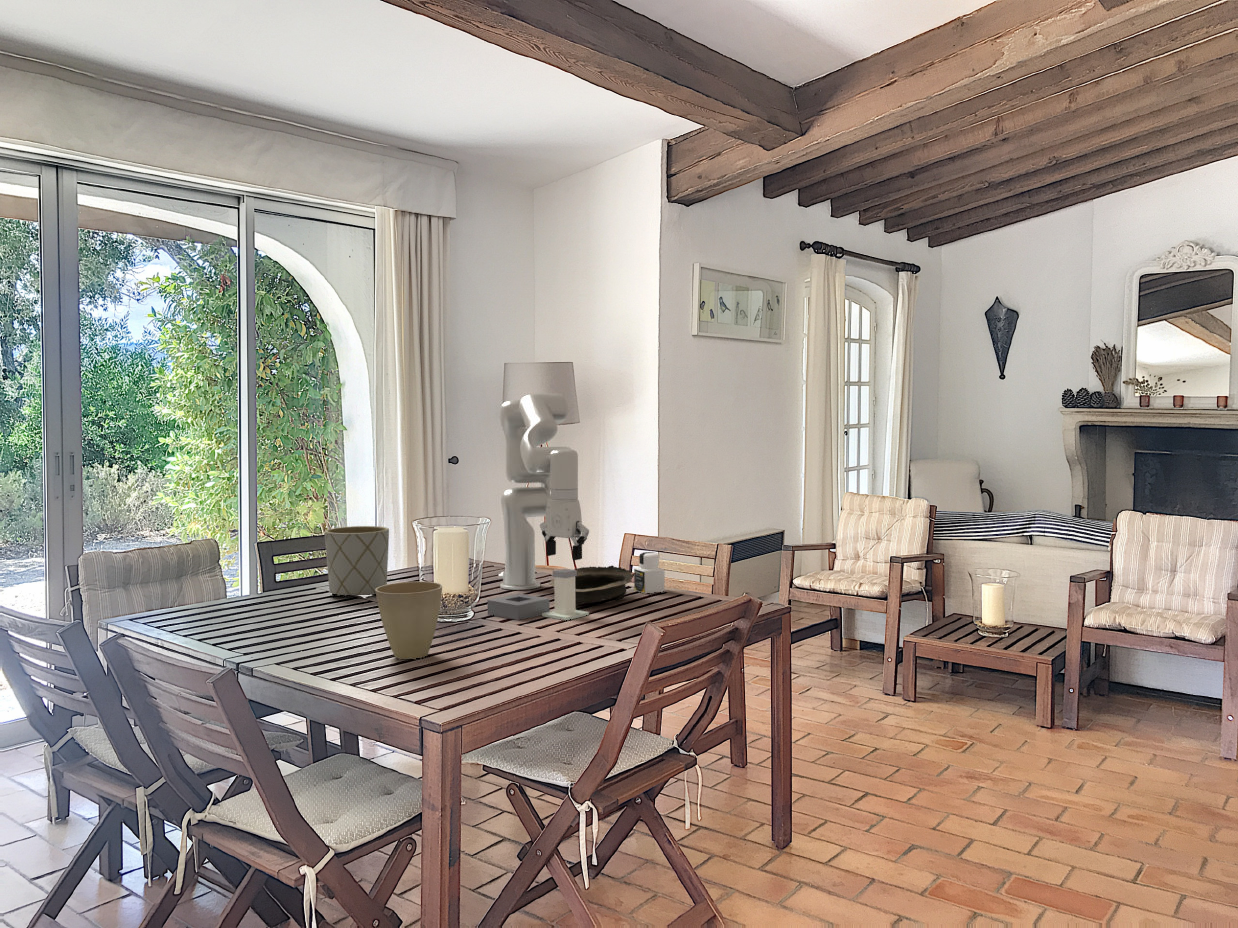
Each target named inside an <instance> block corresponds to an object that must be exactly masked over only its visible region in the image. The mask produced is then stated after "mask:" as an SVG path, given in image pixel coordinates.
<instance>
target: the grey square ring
mask: <svg viewBox="0 0 1238 928" xmlns="http://www.w3.org/2000/svg"><path fill="white" fill-rule="evenodd" d="M486 601H487V615H488V614H489V616H493V615H494V617H499V618H506V619H511V620H516V621H520V620H525V619H529V618H533V617H534V618H535V617H538V616H542V613H545V612H550V597H549V598H548V597H542V596H536V595H530V594H524V593H514V594H510V595H506V596H505V595H504V596H499V597H495V598H491V599H486Z"/></svg>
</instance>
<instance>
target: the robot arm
mask: <svg viewBox="0 0 1238 928" xmlns="http://www.w3.org/2000/svg"><path fill="white" fill-rule="evenodd" d="M569 408H570V407H569V403H568V400H567V398H566V397H565V396H564V395H562V394H561V393H543V392H542V393H528V394H527V395H524V396H523V397H522V398H521V399H511V400H507V401H505V402H503V403H502V404H501V406H500V408H499V409H500V410H499V418H500V419H499V420H500V424H501V428H502V431H503V434H504V438H505V473H506V475H505V476H506V478H507V480H508V481H509V482H511V483H513V484H537V483H538V484H540V486H530V487H529V486H525V487H524V486H523V487H511V488H508V489H506V490H504V492H503V493H501V494H502V495H501V497H500V503H501V509H502V516H503V527H504V570H503V571H502V572H501V573H498V578H500V579H502V582H500V584H499V585H500V588H501V589H504V590H510V591H511V590H512V591H515V590H516V591H523V590H532V589H537V588H540V587H541V582H540V581H539V580H536V540H535V539H536V538H535V537H536V536H535V530H534V527H533V526H532V524H531V523H530V522H529V521H528V520H527V519H528V518H537V517H538V518H539V517H544V518H545V519H544V521H543V522H541V523H540V524H539V528H540V530H541V535H542V536H543V538H544V542H546V543H545V544H546V546H545V547H546V549H545V550H546V556H547V557H550V556H555V555H556V554H557V542H556V541H557V540H556V538H562V539H563V538H564V539H570V540H571V542H572V543H573V545H572V548H571V549H572V551H571V552H572V553H571V554H572V555H571V556H572V561H579V560H582V559H583V545H585V542H586V540H588V536H589V533H590V529H589V528H588V527H586V525H583V523H582V522H583V521H582V509H581V503H580V500H579V455H578V452H577V451H576V450H574V449H572V448H571V447H568V446H541V445H545V444H546V443H548V442H550V441H551V440H553V439H554V438H555V436H557V432H558V425H560V424H562V423H563V422H564V421H566V420H567V419H568V416H569Z"/></svg>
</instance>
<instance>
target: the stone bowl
mask: <svg viewBox="0 0 1238 928" xmlns="http://www.w3.org/2000/svg"><path fill="white" fill-rule="evenodd" d="M573 570H577V576H575V606H582V605H583V604H584V605H585V604H591V603H597V602H600V601H604V600H605V601H609V600H610V599H611V600H615V601H618V602H620V601H623V600H624V599H625V596H626V593H627V588H626V587H627V586H626V585H627V584H629V583H631V582H632V579H634V578H633V577H634V573H633V572H632V571H631V570H630V569H629V570H627V569H626V568H625V567H624V568H622V567H621V566H620V567H617V566H614V565H609V566H587V567H585V566H583V567H578V568H574V569H573ZM548 585H550V586H552V587H553V588H554V578H553V579H552V580H550V581H549V584H548Z"/></svg>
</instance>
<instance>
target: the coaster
mask: <svg viewBox="0 0 1238 928" xmlns="http://www.w3.org/2000/svg"><path fill="white" fill-rule="evenodd" d="M575 610H576V612H575V613H571V614H567V615H564V614H558V613H555V609H554V610H551V611H550V612H545V613H542V615H541V616H542V617H545V618H551V619H555V620H560V619H561V621H566V620H567V621H571V620H575V619H577V618H582V617H585V616H586V615H587V616H589V615H590V612H589V611H584V610H580V609H579V610H578V609H575ZM570 619H571V620H570Z"/></svg>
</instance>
